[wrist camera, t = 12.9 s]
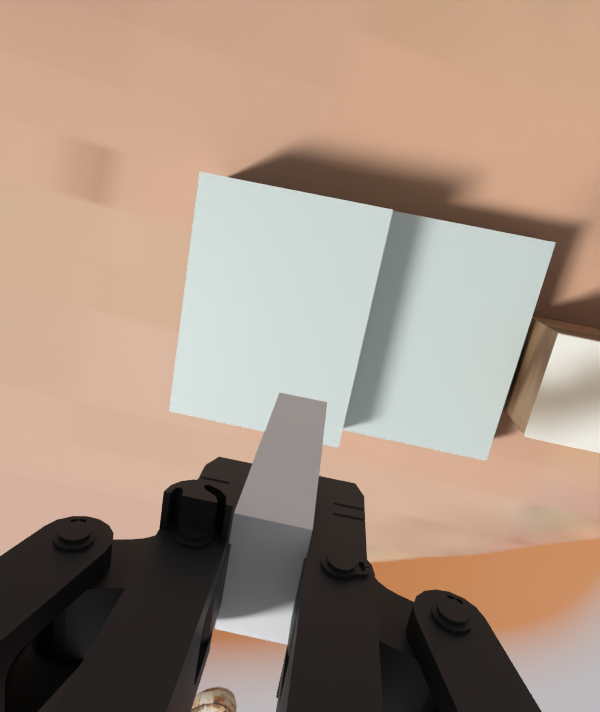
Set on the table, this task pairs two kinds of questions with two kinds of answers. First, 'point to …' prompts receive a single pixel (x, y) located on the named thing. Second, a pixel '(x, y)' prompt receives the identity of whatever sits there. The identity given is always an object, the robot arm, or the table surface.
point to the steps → (351, 316)
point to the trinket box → (214, 700)
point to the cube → (558, 384)
